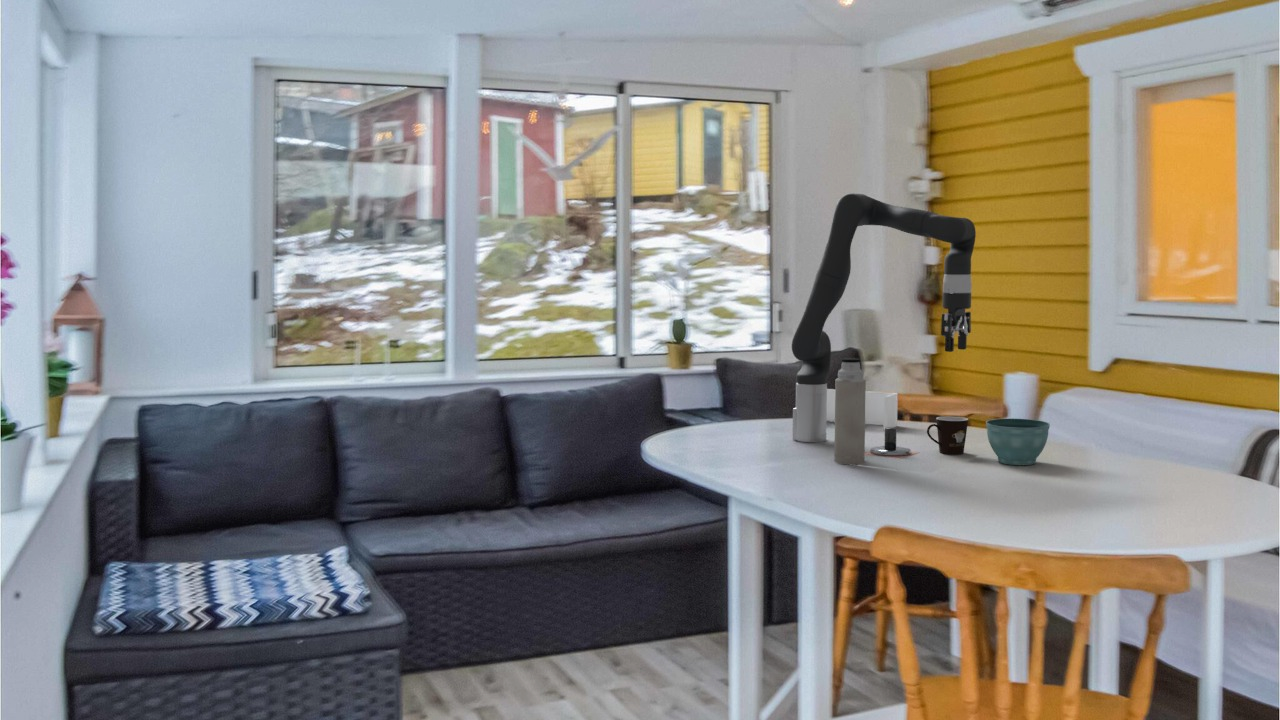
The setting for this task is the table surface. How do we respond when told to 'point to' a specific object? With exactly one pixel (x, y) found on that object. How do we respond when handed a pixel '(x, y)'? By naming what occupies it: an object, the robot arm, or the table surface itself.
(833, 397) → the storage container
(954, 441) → the coffee mug
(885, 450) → the lid
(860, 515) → the table surface
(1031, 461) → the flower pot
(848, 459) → the thermos bottle
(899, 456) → the mat
